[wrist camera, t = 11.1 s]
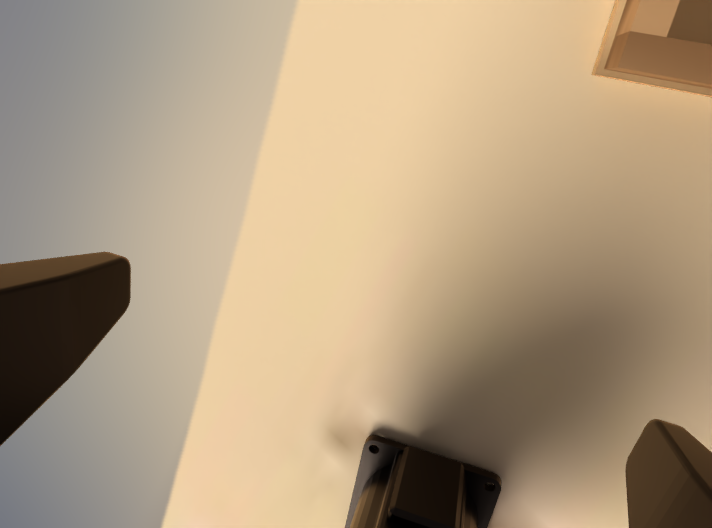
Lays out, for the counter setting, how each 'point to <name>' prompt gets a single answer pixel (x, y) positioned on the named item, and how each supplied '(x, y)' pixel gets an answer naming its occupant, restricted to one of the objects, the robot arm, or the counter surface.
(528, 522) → the counter surface
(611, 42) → the holder
